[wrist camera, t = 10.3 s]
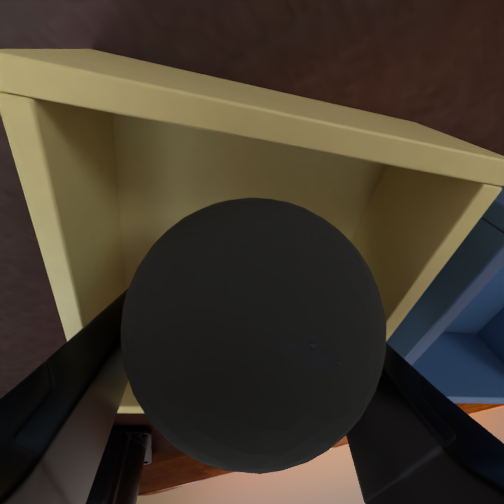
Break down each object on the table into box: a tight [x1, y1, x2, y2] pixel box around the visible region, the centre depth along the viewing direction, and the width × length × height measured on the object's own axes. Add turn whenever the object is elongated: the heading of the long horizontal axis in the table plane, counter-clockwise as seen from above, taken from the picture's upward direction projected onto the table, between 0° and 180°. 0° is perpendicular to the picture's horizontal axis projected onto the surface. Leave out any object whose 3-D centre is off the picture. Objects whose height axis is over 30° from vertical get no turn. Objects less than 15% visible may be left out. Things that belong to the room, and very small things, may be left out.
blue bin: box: [386, 186, 504, 404], centre depth 13 cm, size 10×10×4 cm
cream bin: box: [0, 49, 504, 413], centre depth 11 cm, size 12×11×4 cm
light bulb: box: [121, 197, 386, 474], centre depth 9 cm, size 6×6×10 cm
